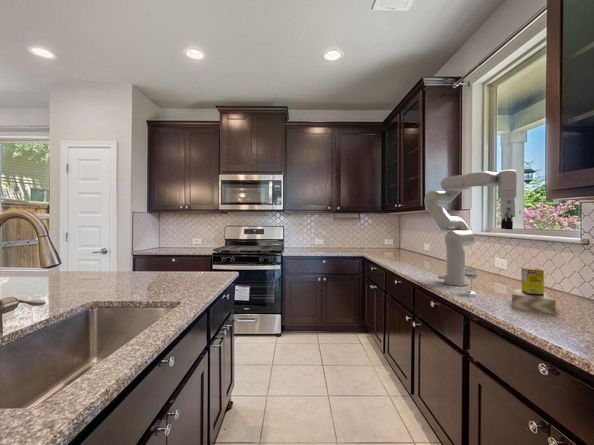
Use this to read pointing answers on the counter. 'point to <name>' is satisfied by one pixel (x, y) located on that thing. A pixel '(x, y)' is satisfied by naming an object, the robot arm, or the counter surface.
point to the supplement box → (533, 281)
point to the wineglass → (471, 277)
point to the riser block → (533, 302)
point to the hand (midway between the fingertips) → (506, 229)
